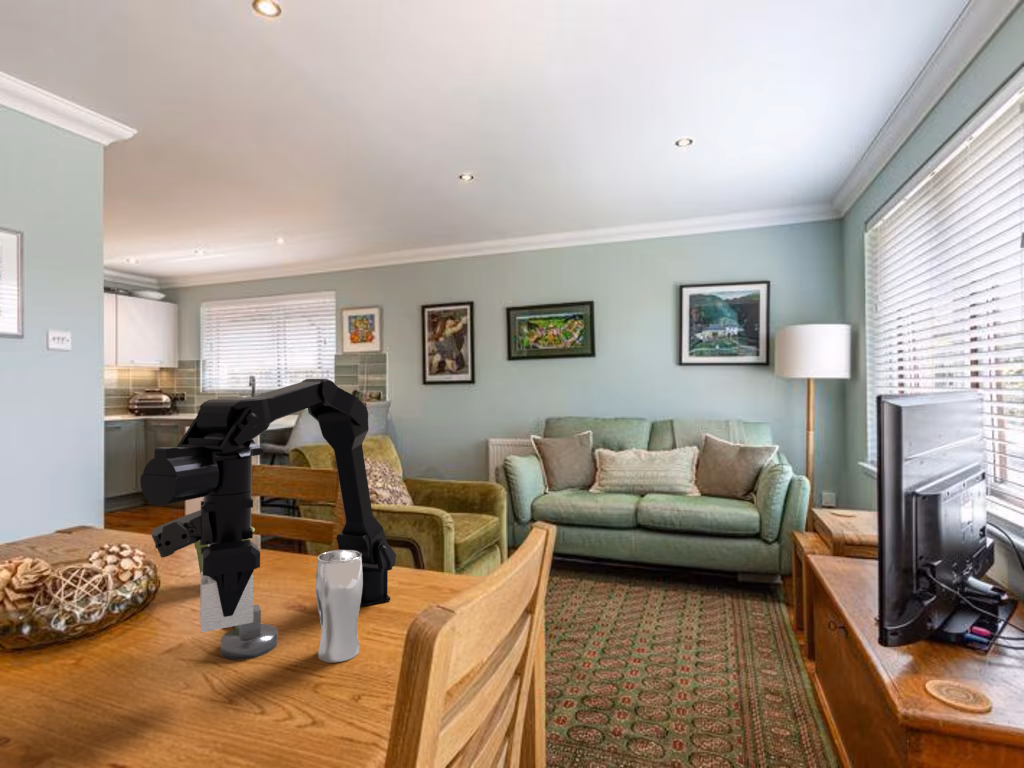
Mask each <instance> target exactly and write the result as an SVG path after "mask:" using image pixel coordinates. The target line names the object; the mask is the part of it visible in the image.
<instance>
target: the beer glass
mask: <svg viewBox="0 0 1024 768" xmlns="http://www.w3.org/2000/svg"><path fill="white" fill-rule="evenodd" d="M316 560H317V562H316V571H315V597H316V605H317V611H318V617H319V622H320V623H319V624H320V640H319V641H320V642H319V646H318V647H319V648H318V653H317V658H318V659H319V660H321V661H322V662H324V663H328V664H329V663H331V664H333V663H334V664H335V663H343V662H346V661H349V660H352V659H353V658H355V657H356V656H357V655H358V654H359V652H360V642H359V637H358V619H359V614H360V608H361V607H360V604H361V598H362V590H363V568H362V553H361V552H359V551H356V550H339V549H335V550H334V549H333V550H329V551H326V552H323V553H320V554H319V555H318V556H317V559H316Z"/></svg>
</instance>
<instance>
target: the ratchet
mask: <svg viewBox="0 0 1024 768" xmlns="http://www.w3.org/2000/svg"><path fill="white" fill-rule="evenodd" d="M261 611H262V610H261V607H260V604H253V622H252V623H247V624H242V625H237V626H232V627H231V628H234V629H231V630H229V631H227V632H226V633H225V634H223V635H222V636H221V639H220V656H221V657H223V658H224V659H226V660H229V661H230V660H232V661H241V660H242V661H243V660H244V661H245V660H249V659H254V658H257V657H261V656H263V655H265V654H268V653H269V652H271V651H273V650H274V649H275V648H276V647H277V645H278V628H277V627H276V626H274V625H273V624H269V623H261V621H262V619H261V618H262V617H261V616H262V614H261Z"/></svg>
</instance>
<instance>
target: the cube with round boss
mask: <svg viewBox="0 0 1024 768" xmlns="http://www.w3.org/2000/svg"><path fill="white" fill-rule="evenodd" d="M254 579H255V578H254V574H253V573H252V575H251V577H250V579H249V581H248V583H247V585H246V587H245V590H244V592H243V594H242V596H241V598H240V601H239V603H238V605H237V607H236V609H235V612H234V614H233V615H232V616H227V617H224V616H223V612H222V607H221V602H220V597H219V592H218V587H217V583H216V581H215V580H214V579H212V578H210V577H209V576H203V572H201V575H200V589H199V590H200V594H199V595H200V598H199V604H200V605H199V606H200V607H199V621H200V622H199V623H200V633H206V632H211V631H216V630H220V629H222V630H223V629H225V628H227V629H228V628H232V626H237V625H242V624H247V623H252V622H253V605H254V594H255V593H254V589H255V585H254V584H255V583H254V582H255V581H254Z"/></svg>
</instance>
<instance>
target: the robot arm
mask: <svg viewBox="0 0 1024 768" xmlns="http://www.w3.org/2000/svg"><path fill="white" fill-rule="evenodd" d="M306 409H307V412H308V413H307V414H309V415H310V416H311V417H312V418H313V419H315V420H316V421H317V422H318V426H319V428H320V432H321V435H322V437H323V439H324V440H325V441H326V442H327V444H328V445H329V446H330V447H331V449H333V452H334V456H335V457H334V459H335V464H336V469H337V476H338V481H339V482H338V483H339V488H340V494H341V500H342V501H341V502H342V507H343V513H344V514H343V515H344V518H345V519H344V520H345V523H344V525H343V528H342V530H341V532H340V533H338V534H337V535H336V542H337V545H338V547H337V548H338V550H356V551H359V552H361V553H362V568H363V590H362V598H361V604H360V608H361V607H365V606H369V605H374V604H375V605H376V604H380V603H383V602H389V601H391V596H390V595H389V594H388V589H389V588H388V585H389V584H388V581H389V579H388V577H389V575H388V574H389V571H391V570H393V567H395V563H396V561H397V560H396V558H397V554H396V552H395V551H394V550H393V548H392V546H391V545H390V544H389V543H388V542H387V537H386V533H385V529H384V527H383V526H382V525H381V523H380V522H379V521H378V520H377V518H376V517H375V516H374V514H373V509H372V502H371V496H370V489H369V481H368V475H367V470H366V469H367V468H366V462H365V457H364V450H363V443H364V440H365V438H366V436H367V435H368V432H369V412H368V408H367V405H366V403H364V402H362V401H361V400H360V399H359V398H357V396H355V395H354V394H352V393H350V392H349V391H346V390H344V389H342V388H340V387H339V386H338V385H337V384H336V383H334V381H332V380H330V379H328V378H305V379H303V380H302V381H300V382H297V383H293V384H291V385H288V386H284V387H281V388H277V389H273V390H270V391H267V392H264V393H261V394H257V395H254V396H246V397H245V396H242V397H227V398H226V397H225V398H212V399H211V398H210V399H208V400H206V401H204V402H203V403H201V404H200V405H199V410H198V411H197V414H196V416H195V418H194V419H193V421H192V422H191V424H190V425H189V427H188V429H187V430H186V431H185V434H184V435H183V437H182V438H181V440H180V441H179V443H178V444H177V446H176V447H170V446H167V447H165V446H163V447H156V448H155V449H154V451H153V452H154V454H153V455H154V458H152V459H151V460H149V461H148V462H147V464H146V465H145V467H144V469H143V471H142V474H141V475H140V488H141V493H142V494H143V496H144V498H145V499H146V501H147V502H149V503H150V504H151V505H153V506H157V507H161V506H166V505H170V504H176V503H180V502H185V501H190V500H195V499H200V498H202V499H203V500H200V510H199V509H198V510H197V511H194V512H192V513H188V514H185V515H183V516H180V517H177V518H175V519H173V520H171V521H168V522H166V523H163V524H161V525H158V526H156V527H154V528H153V530H152V532H151V538H152V540H153V542H154V547H155V548H156V549H157V551H158V554H159V555H160V558H167V557H169V556H171V555H173V554H175V552H177V551H179V550H182V549H183V548H186V547H188V546H190V545H194V543H195V542H197V541H200V545H208V546H206V547H202V548H201V554H202V571H203V576H209V577H210V578H212V579H214V580H215V581H216V583H217V587H218V592H219V597H220V602H221V607H222V612H223V616H224V617H227V616H232V615H233V614H234V612H235V609H236V607H237V605H238V603H239V601H240V598H241V596H242V594H243V592H244V590H245V587H246V585H247V583H248V581H249V579H250V577H251V575H252V574H253V573H254V571H255V570H257V569H259V568H261V551H260V549H259V547H258V545H257V544H256V543H254V542H253V541H252V540H245V539H249V538H251V539H253V538H254V537H253V536H254V532H253V530H252V528H251V527H252V509H253V508H254V499H253V496H252V485H253V483H252V480H253V479H252V478H253V477H252V475H253V471H252V470H253V457H256V456H262V455H264V453H265V450H264V449H263V448H262V447H261V446H259V445H258V444H257V443H256V442H255V441H254V439H256V438H257V437H258V436H259V435H262V434H263V433H265V432H266V431H267V430H268V429H269V427H270V425H271V424H272V423H273V422H275V421H277V420H279V419H282V418H285V417H287V416H290V415H293V414H295V413H298V412H301V411H303V410H306ZM242 539H243V541H242Z"/></svg>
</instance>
